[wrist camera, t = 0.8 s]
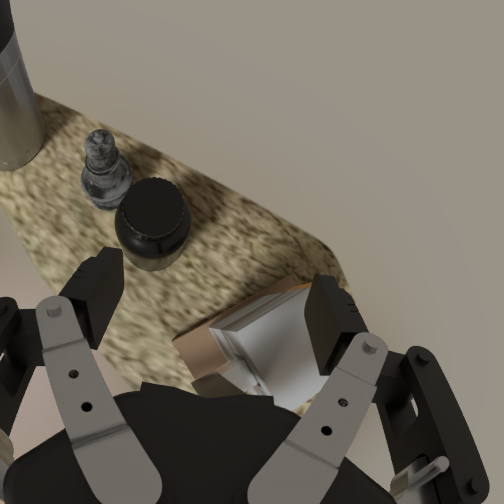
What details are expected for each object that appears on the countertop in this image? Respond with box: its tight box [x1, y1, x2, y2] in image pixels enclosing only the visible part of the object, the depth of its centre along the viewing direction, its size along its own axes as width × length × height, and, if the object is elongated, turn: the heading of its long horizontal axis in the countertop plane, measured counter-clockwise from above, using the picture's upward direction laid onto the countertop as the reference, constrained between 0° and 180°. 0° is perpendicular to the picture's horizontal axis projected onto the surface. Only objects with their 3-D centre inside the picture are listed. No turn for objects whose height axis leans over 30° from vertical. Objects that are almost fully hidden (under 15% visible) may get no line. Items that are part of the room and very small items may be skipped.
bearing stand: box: [172, 274, 329, 411], centre depth 28 cm, size 9×16×12 cm, turn 120°
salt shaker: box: [81, 129, 133, 210], centre depth 27 cm, size 6×6×12 cm
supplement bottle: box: [115, 177, 191, 271], centre depth 27 cm, size 7×7×12 cm
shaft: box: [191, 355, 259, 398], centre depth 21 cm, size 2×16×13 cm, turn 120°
